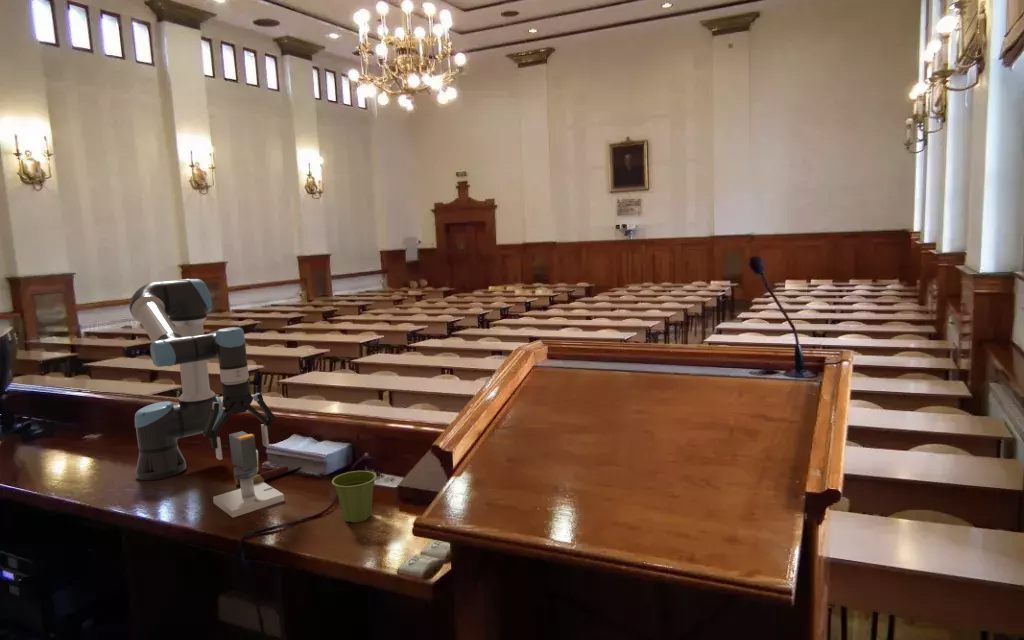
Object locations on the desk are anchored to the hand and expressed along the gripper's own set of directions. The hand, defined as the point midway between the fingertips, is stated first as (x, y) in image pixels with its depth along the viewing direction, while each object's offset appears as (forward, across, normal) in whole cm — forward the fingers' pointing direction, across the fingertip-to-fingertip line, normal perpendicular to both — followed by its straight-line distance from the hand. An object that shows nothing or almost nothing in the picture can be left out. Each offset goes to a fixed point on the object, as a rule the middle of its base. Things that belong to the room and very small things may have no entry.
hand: (243, 452), depth 192 cm
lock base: (+15, 0, 0) cm, 15 cm away
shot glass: (+16, +10, +25) cm, 31 cm away
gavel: (+16, +14, +14) cm, 25 cm away
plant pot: (+16, +16, -35) cm, 41 cm away
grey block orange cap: (+7, 0, 0) cm, 7 cm away
